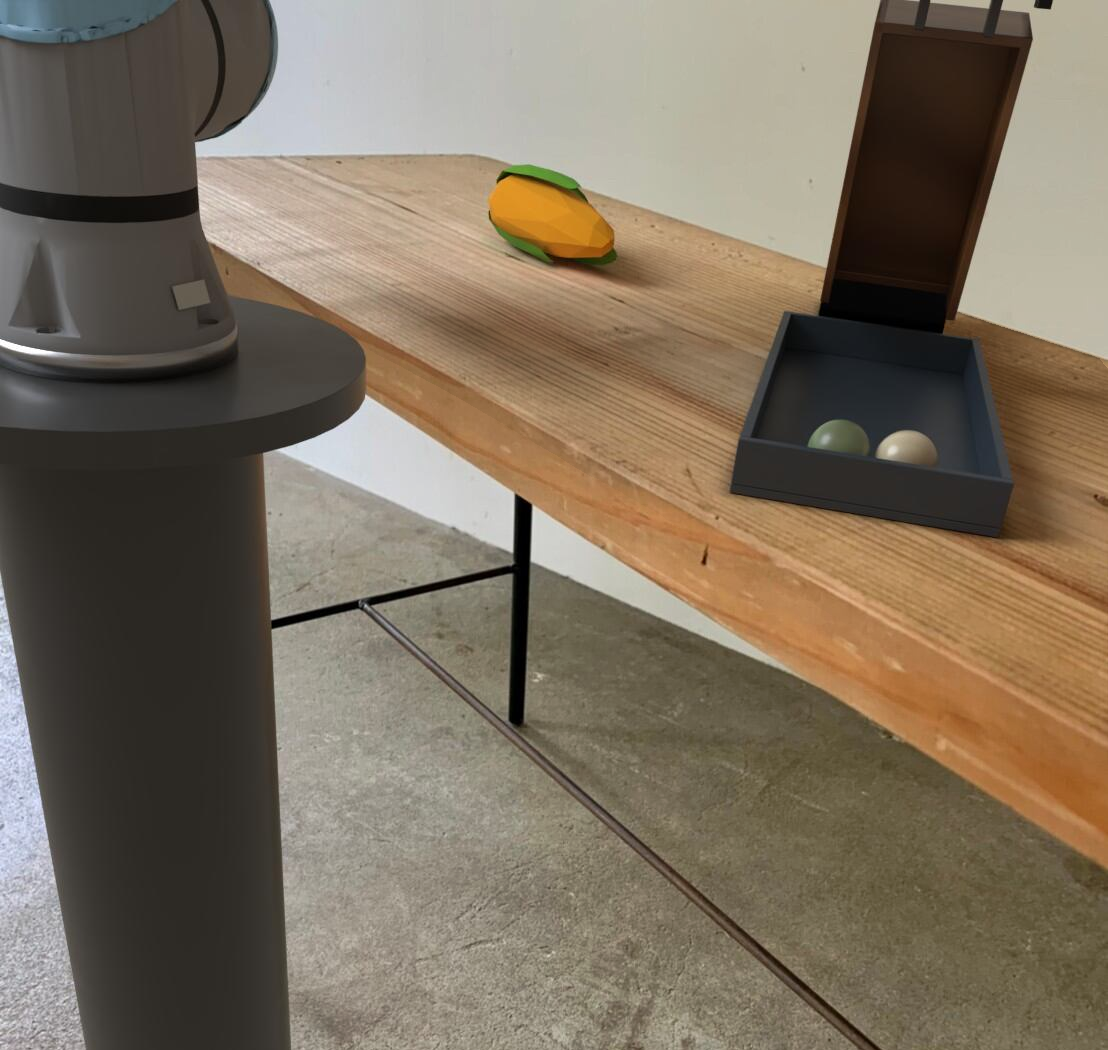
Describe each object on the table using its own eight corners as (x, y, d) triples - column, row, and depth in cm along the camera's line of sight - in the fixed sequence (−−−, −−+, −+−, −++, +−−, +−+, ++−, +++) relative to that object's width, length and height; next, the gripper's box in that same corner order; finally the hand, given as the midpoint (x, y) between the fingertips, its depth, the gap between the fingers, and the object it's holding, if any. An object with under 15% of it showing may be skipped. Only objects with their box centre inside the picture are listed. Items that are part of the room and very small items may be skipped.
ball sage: (790, 464, 68) (798, 423, 64) (839, 438, 68) (850, 396, 65) (827, 505, 66) (837, 465, 63) (876, 478, 67) (889, 437, 64)
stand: (933, 369, 90) (954, 286, 87) (810, 351, 92) (827, 269, 89) (928, 318, 105) (946, 245, 101) (822, 303, 106) (836, 231, 103)
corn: (538, 150, 116) (654, 188, 102) (537, 233, 121) (648, 281, 107) (469, 155, 113) (579, 195, 99) (471, 241, 118) (576, 290, 104)
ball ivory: (861, 446, 67) (859, 464, 64) (915, 410, 65) (916, 427, 62) (894, 494, 68) (894, 515, 65) (949, 460, 66) (951, 479, 63)
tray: (997, 537, 63) (1014, 483, 61) (729, 492, 65) (738, 438, 64) (968, 380, 89) (979, 338, 87) (776, 351, 91) (784, 310, 89)
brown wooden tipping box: (955, 283, 87) (954, 331, 81) (827, 266, 88) (817, 311, 83) (1049, -60, 73) (1055, -32, 67) (894, -74, 74) (888, -49, 68)
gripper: (1277, -483, 63) (1134, 15, 76) (856, -492, 67) (786, -14, 79) (1318, -532, 57) (1156, 19, 69) (852, -539, 61) (776, -13, 73)
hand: (959, 1), depth 74 cm, fingers open, 9 cm apart
